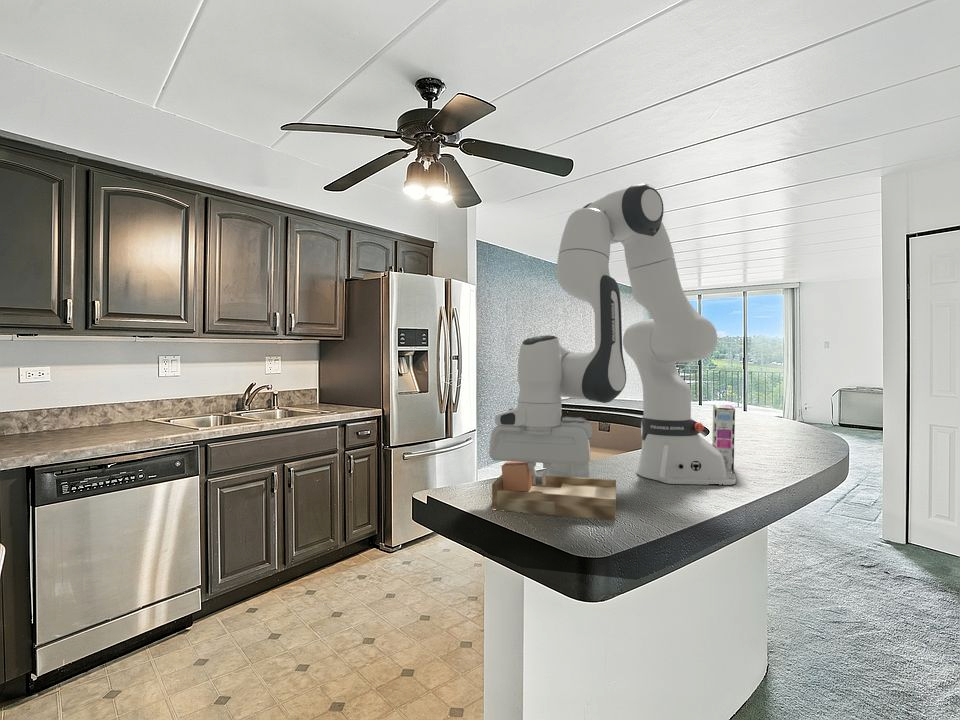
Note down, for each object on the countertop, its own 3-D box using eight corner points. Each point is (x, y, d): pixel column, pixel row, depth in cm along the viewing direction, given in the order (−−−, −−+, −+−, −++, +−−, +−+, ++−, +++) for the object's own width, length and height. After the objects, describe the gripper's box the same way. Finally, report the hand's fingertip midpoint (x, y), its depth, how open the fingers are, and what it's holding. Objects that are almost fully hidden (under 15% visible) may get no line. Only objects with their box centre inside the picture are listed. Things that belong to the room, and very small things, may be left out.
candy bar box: (735, 473, 130) (735, 408, 130) (713, 472, 132) (713, 407, 132) (732, 464, 141) (732, 404, 140) (711, 463, 143) (712, 403, 142)
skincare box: (589, 485, 119) (589, 420, 119) (570, 488, 116) (570, 422, 116) (564, 477, 126) (564, 416, 126) (545, 481, 123) (545, 418, 123)
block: (532, 484, 108) (530, 460, 108) (528, 490, 103) (526, 465, 103) (508, 485, 109) (506, 461, 109) (503, 491, 104) (501, 466, 104)
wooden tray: (615, 497, 108) (615, 474, 108) (615, 520, 94) (615, 492, 94) (508, 490, 114) (508, 467, 114) (492, 510, 100) (492, 484, 100)
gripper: (592, 415, 105) (592, 483, 105) (494, 412, 110) (494, 477, 110) (591, 419, 99) (591, 491, 99) (487, 416, 104) (487, 484, 104)
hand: (539, 484), depth 105 cm, fingers closed
